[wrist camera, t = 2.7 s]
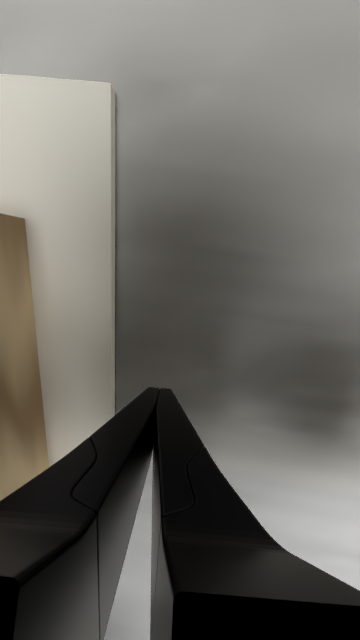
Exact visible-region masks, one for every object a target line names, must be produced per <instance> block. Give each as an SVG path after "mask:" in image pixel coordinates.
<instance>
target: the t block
mask: <svg viewBox="0 0 360 640" xmlns="http://www.w3.org/2000/svg"><path fill="white" fill-rule="evenodd" d="M47 468H49V463H48V453H47V443H46V432H45V422H44V412H43V401H42V391H41V381H40V371H39V360H38V350H37V340H36V329H35V319H34V309H33V299H32V288H31V278H30V268H29V258H28V247H27V237H26V227H25V219H24V218H20V217H15V216H10V215H6V214H1V213H0V501H1V500H2V499H4V498H5V497H7V496H8V495H10V494H11V493H13V492H14V491H15V490H17V489H18V488H20V487H21V486H23V485H24V484H26V483H27V482H29V481H30V480H31V479H33V478H34V477H36V476H37V475H39V474H40V473H42V472H43V471H45V470H46V469H47Z"/></svg>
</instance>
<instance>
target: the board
mask: <svg viewBox="0 0 360 640" xmlns="http://www.w3.org/2000/svg"><path fill="white" fill-rule="evenodd" d="M0 213H1V214H6V215H10V216H15V217H20V218H24V219H25V227H26V237H27V247H28V258H29V268H30V278H31V288H32V299H33V309H34V319H35V329H36V340H37V350H38V360H39V371H40V381H41V391H42V401H43V412H44V422H45V432H46V443H47V453H48V463H49V467H50V466H52V465H53V464H54V463H56V462H57V461H59V460H60V459H61V458H63V457H64V456H66V455H67V454H68V453H69V452H71V451H72V450H73V449H74V448H76V447H77V446H78V445H80V444H81V443H82V442H83V441H84V440H86V439H87V438H88V437H89V438H90V436H91V435H92V434H93V433H94V432H95V431H97V430H98V429H99V428H100V427H101V426H103V425H104V424H105V423H106V422H107V421H109V420H110V419H111V418H112V417H113V416H115V92H114V89H113V87H112V85H111V83H109V82H96V81H84V80H72V79H60V78H48V77H36V76H24V75H11V74H0Z"/></svg>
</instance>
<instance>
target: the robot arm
mask: <svg viewBox="0 0 360 640" xmlns="http://www.w3.org/2000/svg"><path fill="white" fill-rule="evenodd" d="M152 452H153V481H152V552H151V623H150V640H360V591H359V590H357V589H355V588H354V587H352V586H350V585H348V584H346V583H344V582H343V581H341V580H339V579H337V578H335V577H333V576H332V575H330V574H328V573H326V572H324V571H322V570H321V569H319V568H317V567H315V566H313V565H311V564H310V563H308V562H306V561H304V560H302V559H300V558H299V557H297V556H295V555H293V554H291V553H290V552H288V551H287V550H285V549H284V548H283V547H281V546H280V545H279V544H278V543H277V542H276V541H275V540H274V539H273V538H272V537H271V536H270V535H269V534H268V533H267V532H266V530H265V529H264V528H263V527H262V526H261V524H260V523H259V522H258V520H257V519H256V518H255V516H254V515H253V514H252V513H251V511H250V510H249V509H248V507H247V506H246V505H245V503H244V502H243V501H242V500H241V498H240V497H239V496H238V494H237V493H236V492H235V490H234V489H233V488H232V487H231V485H230V484H229V483H228V481H227V480H226V478H225V477H224V476H223V474H222V473H221V472H220V470H219V469H218V467H217V466H216V464H215V462H214V461H213V459H212V458H211V456H210V454H209V453H208V451H207V449H206V448H205V447H204V444H203V443H202V441H201V439H200V438H199V436H198V434H197V433H196V431H195V429H194V427H193V426H192V424H191V422H190V421H189V419H188V417H187V416H186V414H185V412H184V410H183V409H182V407H181V405H180V404H179V402H178V400H177V399H176V397H175V395H174V394H173V392H172V390H171V389H166V388H161V389H159V388H154V387H149V388H147V389H146V390H145V391H144V392H142V393H141V394H140V395H139V396H138V397H136V398H135V399H134V400H133V401H132V402H130V403H129V404H128V405H127V406H126V407H124V408H123V409H122V410H121V411H120V412H118V413H117V414H116V415H115V416H113V417H112V418H111V419H110V420H109V421H107V422H106V423H105V424H104V425H103V426H101V427H100V428H99V429H98V430H97V431H95V432H94V433H93V434H92V435H91V436H90V438H89V437H88V438H87V439H86V440H84V441H83V442H82V443H81V444H80V445H78V446H77V447H76V448H74V449H73V450H72V451H71V452H69V453H68V454H67V455H66V456H64V457H63V458H61V459H60V460H59V461H57V462H56V463H54V464H53V465H52V466H50V467H49V468H47V469H46V470H45V471H43V472H42V473H40V474H39V475H37V476H36V477H34V478H33V479H31V480H30V481H29V482H27V483H26V484H24V485H23V486H21V487H20V488H18V489H17V490H15V491H14V492H13V493H11V494H10V495H8V496H7V497H5V498H4V499H2V500H1V501H0V640H103V639H104V635H105V631H106V628H107V624H108V620H109V616H110V612H111V609H112V605H113V601H114V597H115V593H116V590H117V586H118V582H119V578H120V574H121V571H122V567H123V563H124V559H125V555H126V552H127V548H128V544H129V540H130V536H131V533H132V529H133V525H134V521H135V517H136V514H137V510H138V506H139V502H140V498H141V495H142V491H143V487H144V483H145V479H146V476H147V472H148V468H149V464H150V460H151V456H152Z"/></svg>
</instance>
